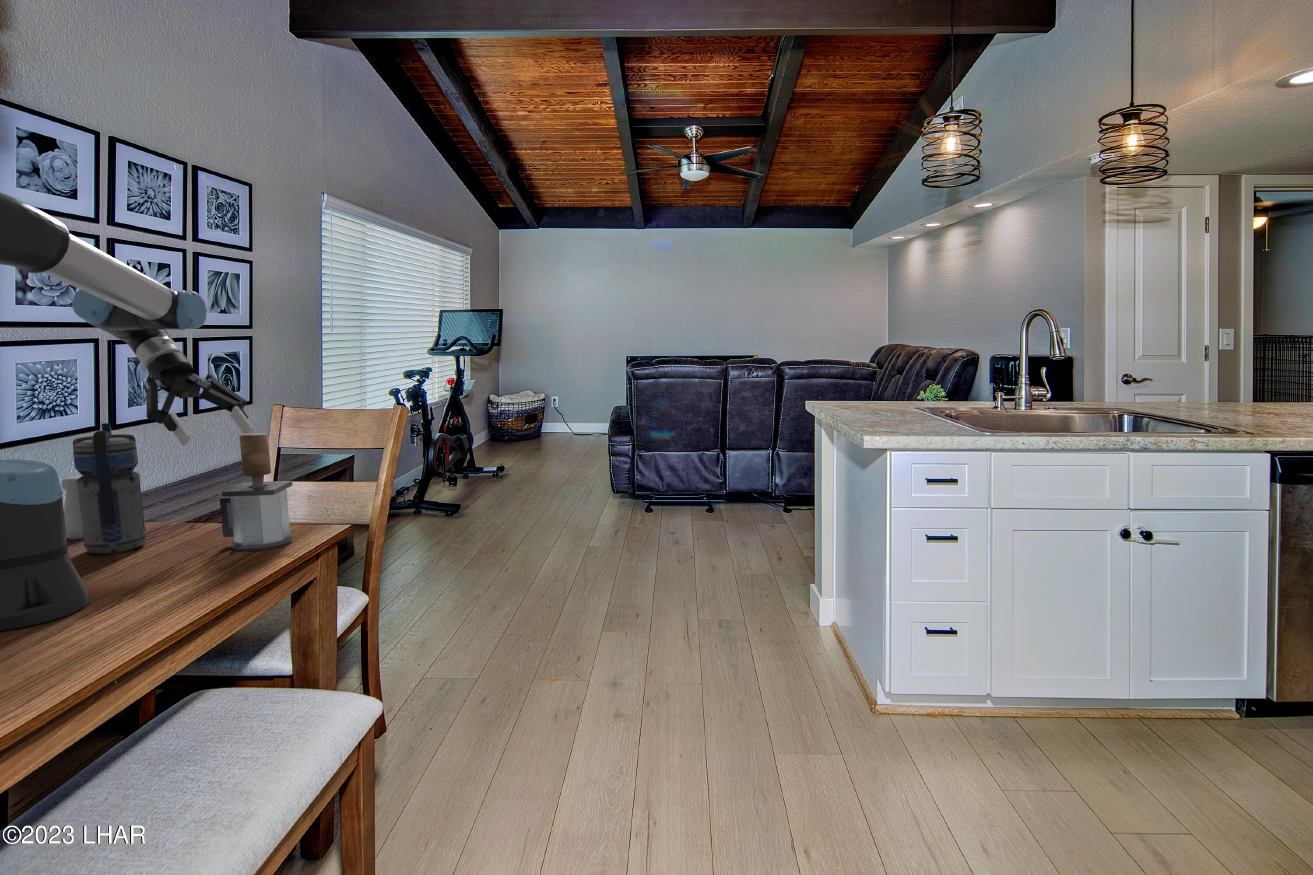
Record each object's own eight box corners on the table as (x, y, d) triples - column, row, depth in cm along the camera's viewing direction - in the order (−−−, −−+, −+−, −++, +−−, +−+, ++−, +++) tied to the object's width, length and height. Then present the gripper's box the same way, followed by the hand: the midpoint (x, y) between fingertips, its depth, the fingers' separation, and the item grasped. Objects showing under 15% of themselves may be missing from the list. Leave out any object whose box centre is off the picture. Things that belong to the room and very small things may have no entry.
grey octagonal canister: (213, 552, 144) (208, 492, 142) (239, 537, 154) (234, 482, 153) (280, 550, 145) (275, 490, 143) (301, 535, 156) (296, 480, 154)
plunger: (241, 516, 146) (234, 436, 144) (252, 510, 151) (246, 433, 149) (268, 515, 147) (261, 435, 145) (278, 509, 152) (271, 432, 149)
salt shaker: (83, 532, 161) (76, 474, 159) (104, 533, 159) (98, 474, 158) (56, 539, 155) (49, 479, 153) (78, 540, 154) (71, 479, 152)
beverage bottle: (79, 562, 139) (63, 431, 135) (89, 545, 150) (74, 424, 147) (144, 553, 144) (130, 427, 140) (149, 538, 155) (136, 421, 152)
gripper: (107, 351, 142) (164, 431, 138) (228, 349, 165) (280, 417, 161) (94, 378, 145) (150, 457, 141) (215, 372, 168) (266, 440, 163)
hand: (219, 436), depth 151 cm, fingers open, 13 cm apart
